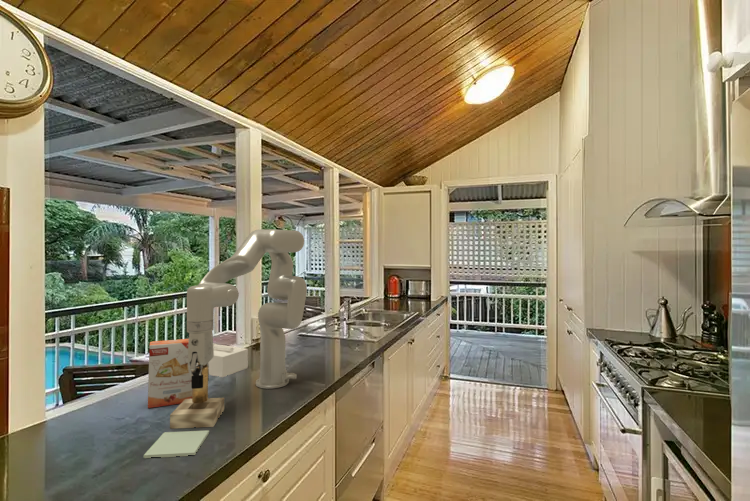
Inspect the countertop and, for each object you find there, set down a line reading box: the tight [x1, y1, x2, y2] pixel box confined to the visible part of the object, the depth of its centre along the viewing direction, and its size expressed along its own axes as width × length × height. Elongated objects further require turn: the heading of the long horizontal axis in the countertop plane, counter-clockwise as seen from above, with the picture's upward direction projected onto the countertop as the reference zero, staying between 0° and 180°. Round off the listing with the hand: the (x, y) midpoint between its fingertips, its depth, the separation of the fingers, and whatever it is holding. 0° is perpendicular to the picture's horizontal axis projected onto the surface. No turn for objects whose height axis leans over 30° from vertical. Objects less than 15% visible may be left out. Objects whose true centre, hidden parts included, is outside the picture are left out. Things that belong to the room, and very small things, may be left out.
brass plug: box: [192, 366, 209, 403], centre depth 117 cm, size 4×4×10 cm
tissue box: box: [197, 342, 249, 378], centre depth 167 cm, size 14×25×11 cm, turn 67°
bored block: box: [169, 397, 225, 429], centre depth 117 cm, size 12×12×4 cm
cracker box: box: [147, 338, 192, 409], centre depth 129 cm, size 14×6×21 cm, turn 117°
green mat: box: [143, 429, 210, 459], centre depth 101 cm, size 12×12×1 cm
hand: (200, 384), depth 117 cm, fingers closed on brass plug, 4 cm apart
